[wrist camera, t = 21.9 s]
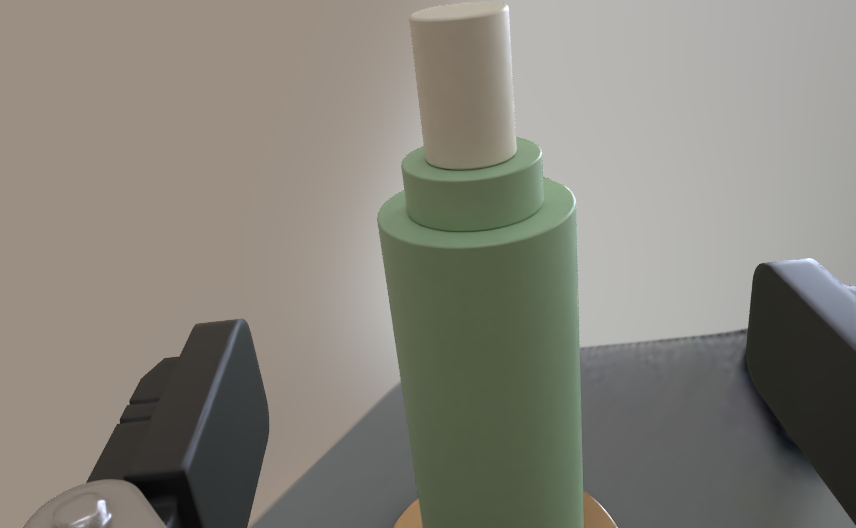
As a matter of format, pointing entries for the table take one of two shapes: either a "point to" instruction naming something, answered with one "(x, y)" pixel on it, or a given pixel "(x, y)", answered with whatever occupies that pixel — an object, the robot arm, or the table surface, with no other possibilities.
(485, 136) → the bottle
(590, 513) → the coaster
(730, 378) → the table surface
